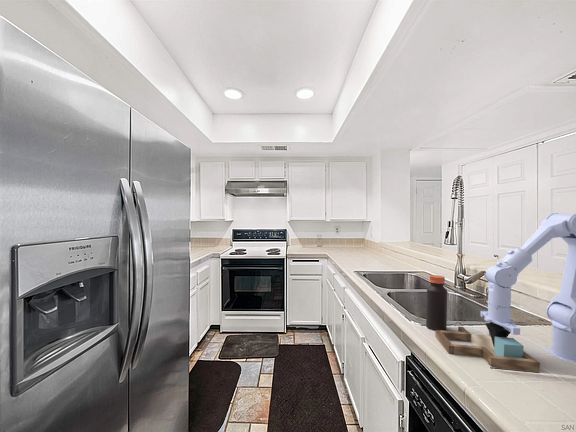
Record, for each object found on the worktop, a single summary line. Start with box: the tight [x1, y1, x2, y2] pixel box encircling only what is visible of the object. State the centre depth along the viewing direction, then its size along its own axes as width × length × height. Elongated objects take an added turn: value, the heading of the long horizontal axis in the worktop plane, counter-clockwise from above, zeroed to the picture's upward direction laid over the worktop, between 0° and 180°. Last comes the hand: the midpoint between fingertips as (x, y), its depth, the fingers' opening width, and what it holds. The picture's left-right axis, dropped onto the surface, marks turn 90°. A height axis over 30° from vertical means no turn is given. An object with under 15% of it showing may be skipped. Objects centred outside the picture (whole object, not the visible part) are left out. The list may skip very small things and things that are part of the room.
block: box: [494, 336, 525, 358], centre depth 84 cm, size 5×5×5 cm
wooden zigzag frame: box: [434, 326, 541, 374], centre depth 90 cm, size 21×22×3 cm
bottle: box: [425, 274, 448, 332], centre depth 106 cm, size 7×7×20 cm
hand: (498, 347), depth 89 cm, fingers closed
